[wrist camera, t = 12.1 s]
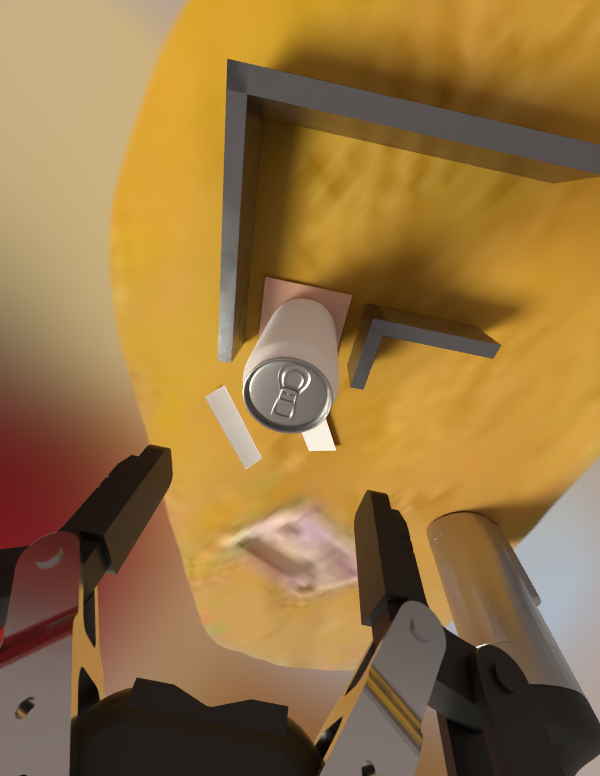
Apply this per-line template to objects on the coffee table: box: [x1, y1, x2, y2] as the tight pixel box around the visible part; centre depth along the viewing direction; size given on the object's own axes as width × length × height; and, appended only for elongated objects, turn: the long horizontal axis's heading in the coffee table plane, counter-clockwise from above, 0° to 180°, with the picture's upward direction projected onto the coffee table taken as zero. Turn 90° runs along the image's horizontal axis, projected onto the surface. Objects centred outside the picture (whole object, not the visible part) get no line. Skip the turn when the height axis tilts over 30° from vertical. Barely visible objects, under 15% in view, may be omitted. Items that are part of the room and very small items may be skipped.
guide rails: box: [218, 59, 600, 390], centre depth 22 cm, size 23×19×4 cm
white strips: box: [205, 385, 336, 469], centre depth 34 cm, size 12×12×2 cm
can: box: [243, 298, 339, 433], centre depth 22 cm, size 6×6×12 cm
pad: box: [258, 277, 352, 349], centre depth 27 cm, size 8×8×1 cm
